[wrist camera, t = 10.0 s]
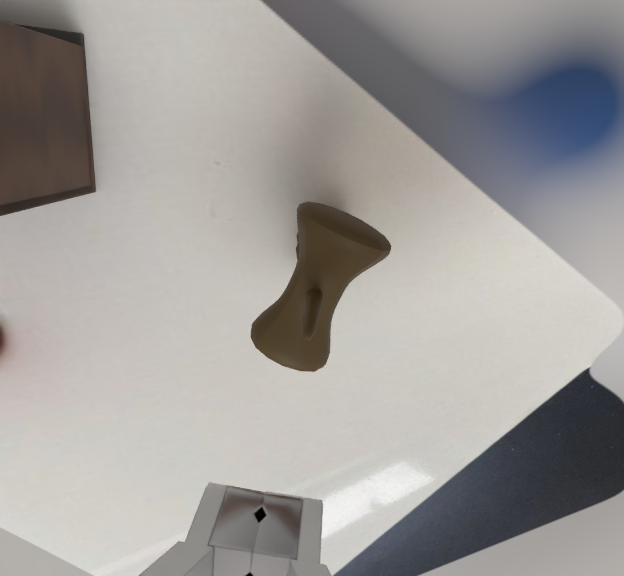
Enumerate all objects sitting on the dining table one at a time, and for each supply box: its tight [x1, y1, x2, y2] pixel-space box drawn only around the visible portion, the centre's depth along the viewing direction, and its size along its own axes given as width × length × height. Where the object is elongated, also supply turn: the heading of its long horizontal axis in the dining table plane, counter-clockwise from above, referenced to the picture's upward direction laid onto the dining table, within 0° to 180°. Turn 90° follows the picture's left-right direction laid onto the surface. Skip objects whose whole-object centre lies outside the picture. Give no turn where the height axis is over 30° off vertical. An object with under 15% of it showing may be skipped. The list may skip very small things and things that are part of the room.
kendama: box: [251, 202, 391, 372], centre depth 28 cm, size 6×10×20 cm, turn 156°
